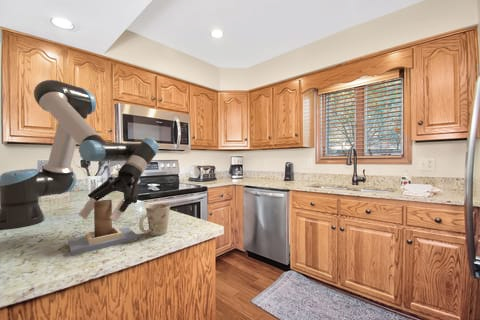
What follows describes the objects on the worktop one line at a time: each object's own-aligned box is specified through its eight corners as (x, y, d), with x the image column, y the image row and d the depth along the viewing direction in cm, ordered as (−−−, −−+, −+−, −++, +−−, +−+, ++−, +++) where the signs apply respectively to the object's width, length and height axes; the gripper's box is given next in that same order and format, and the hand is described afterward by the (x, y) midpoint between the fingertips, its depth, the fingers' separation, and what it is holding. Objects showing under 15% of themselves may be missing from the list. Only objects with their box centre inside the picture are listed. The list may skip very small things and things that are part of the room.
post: (93, 236, 73) (92, 201, 73) (110, 233, 76) (109, 199, 76) (95, 240, 69) (95, 203, 69) (113, 237, 72) (113, 201, 72)
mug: (174, 230, 83) (174, 204, 83) (150, 242, 71) (149, 212, 71) (157, 228, 86) (157, 203, 86) (131, 239, 74) (131, 210, 74)
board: (68, 243, 71) (68, 234, 71) (128, 230, 83) (128, 223, 83) (71, 255, 62) (70, 245, 62) (137, 239, 74) (137, 230, 74)
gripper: (164, 176, 83) (133, 227, 69) (114, 175, 91) (78, 220, 77) (154, 163, 78) (119, 215, 64) (102, 162, 86) (61, 209, 72)
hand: (96, 218), depth 70 cm, fingers open, 13 cm apart
